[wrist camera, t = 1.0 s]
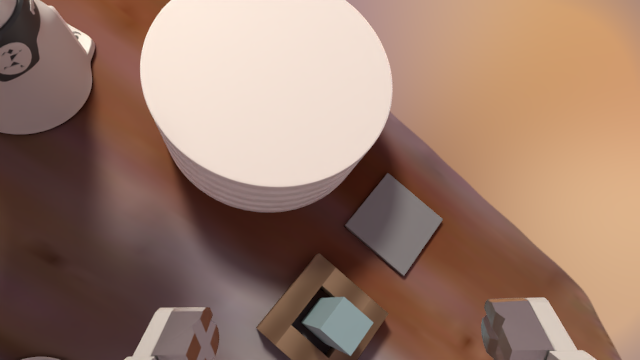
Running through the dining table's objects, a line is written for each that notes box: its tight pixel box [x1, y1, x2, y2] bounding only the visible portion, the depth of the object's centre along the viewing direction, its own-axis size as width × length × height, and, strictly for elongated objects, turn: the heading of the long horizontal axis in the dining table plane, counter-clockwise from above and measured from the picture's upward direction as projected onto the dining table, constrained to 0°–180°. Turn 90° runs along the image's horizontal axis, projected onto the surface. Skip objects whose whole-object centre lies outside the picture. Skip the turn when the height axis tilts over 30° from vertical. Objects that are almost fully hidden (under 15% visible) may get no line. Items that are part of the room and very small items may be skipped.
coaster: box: [345, 173, 443, 276], centre depth 51 cm, size 10×10×1 cm
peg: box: [301, 297, 373, 356], centre depth 40 cm, size 4×4×12 cm
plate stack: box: [140, 0, 392, 213], centre depth 47 cm, size 28×28×12 cm
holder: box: [256, 253, 388, 360], centre depth 44 cm, size 11×11×2 cm
